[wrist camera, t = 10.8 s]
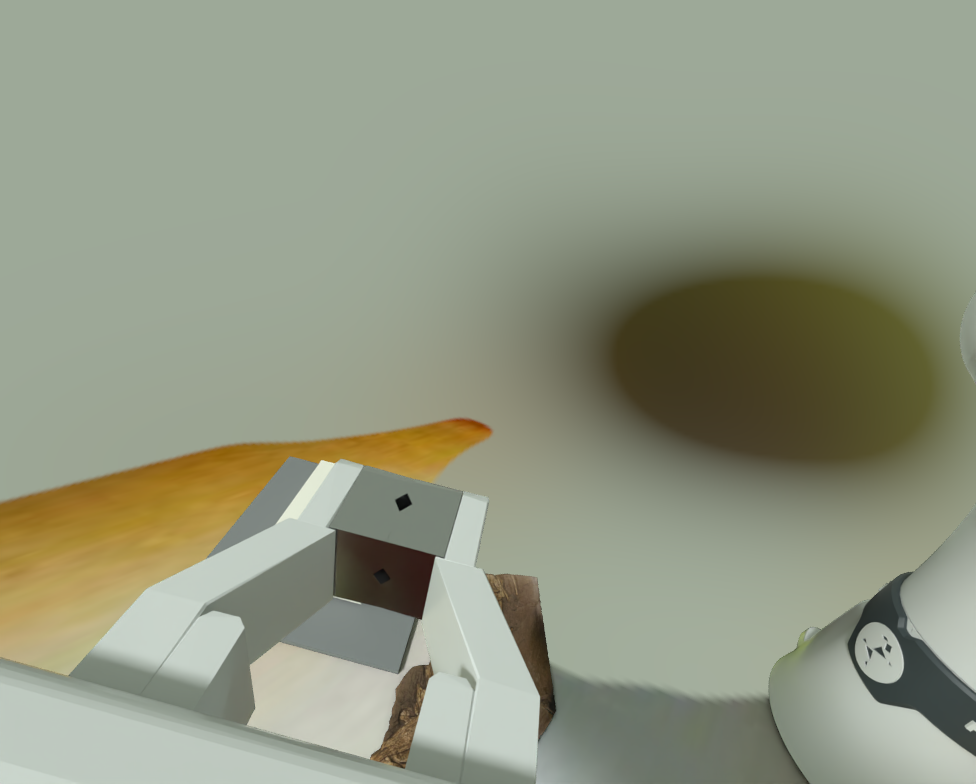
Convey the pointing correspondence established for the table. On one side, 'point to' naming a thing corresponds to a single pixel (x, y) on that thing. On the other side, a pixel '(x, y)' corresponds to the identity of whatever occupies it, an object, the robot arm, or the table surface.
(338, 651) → the mat
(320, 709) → the table surface
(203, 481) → the table surface
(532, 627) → the wooden fragment
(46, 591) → the table surface
